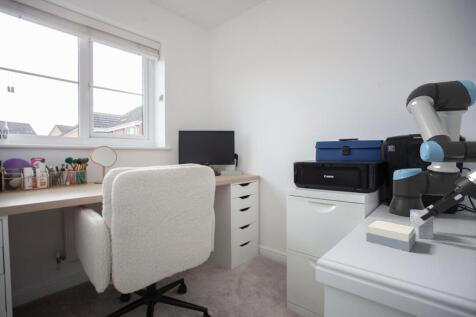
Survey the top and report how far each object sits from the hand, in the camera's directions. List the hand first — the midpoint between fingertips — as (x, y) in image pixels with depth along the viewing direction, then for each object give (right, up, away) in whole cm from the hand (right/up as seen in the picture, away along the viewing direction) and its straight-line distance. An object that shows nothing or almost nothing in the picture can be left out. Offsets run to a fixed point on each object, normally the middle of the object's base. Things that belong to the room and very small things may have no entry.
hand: (416, 220), depth 82 cm
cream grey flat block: (-15, -5, -7) cm, 17 cm away
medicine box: (+1, -5, -1) cm, 6 cm away
